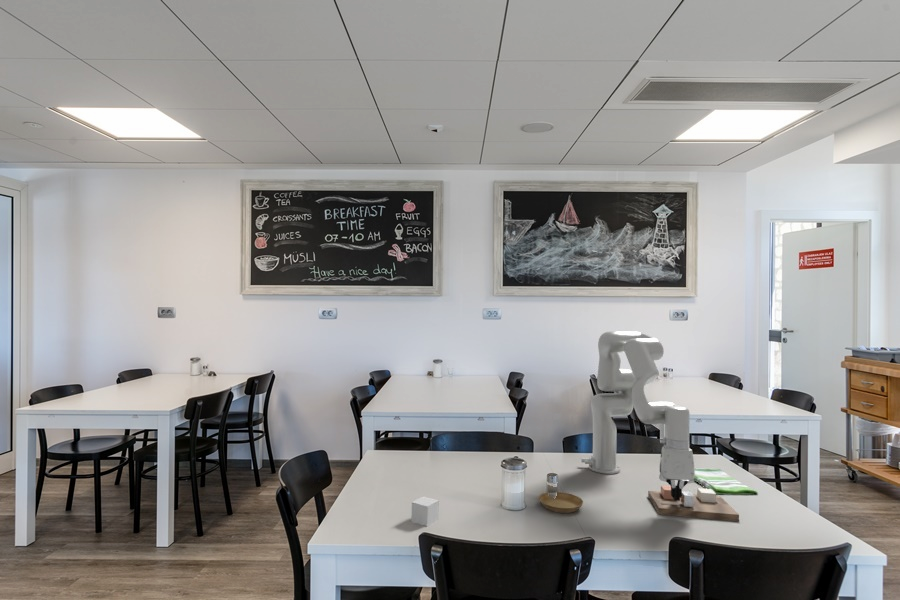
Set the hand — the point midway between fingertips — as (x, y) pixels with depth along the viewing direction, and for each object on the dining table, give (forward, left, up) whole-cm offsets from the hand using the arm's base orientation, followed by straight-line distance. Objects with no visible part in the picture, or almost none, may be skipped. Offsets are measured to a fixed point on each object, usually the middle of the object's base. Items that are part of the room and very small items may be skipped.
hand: (676, 499), depth 164 cm
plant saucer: (-38, -5, -4) cm, 38 cm away
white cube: (-80, -26, -4) cm, 84 cm away
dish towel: (+24, +33, -5) cm, 41 cm away
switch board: (+6, +4, -4) cm, 8 cm away
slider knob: (+4, 0, -1) cm, 4 cm away
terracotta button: (0, +8, -2) cm, 8 cm away
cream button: (+12, +7, -2) cm, 14 cm away
